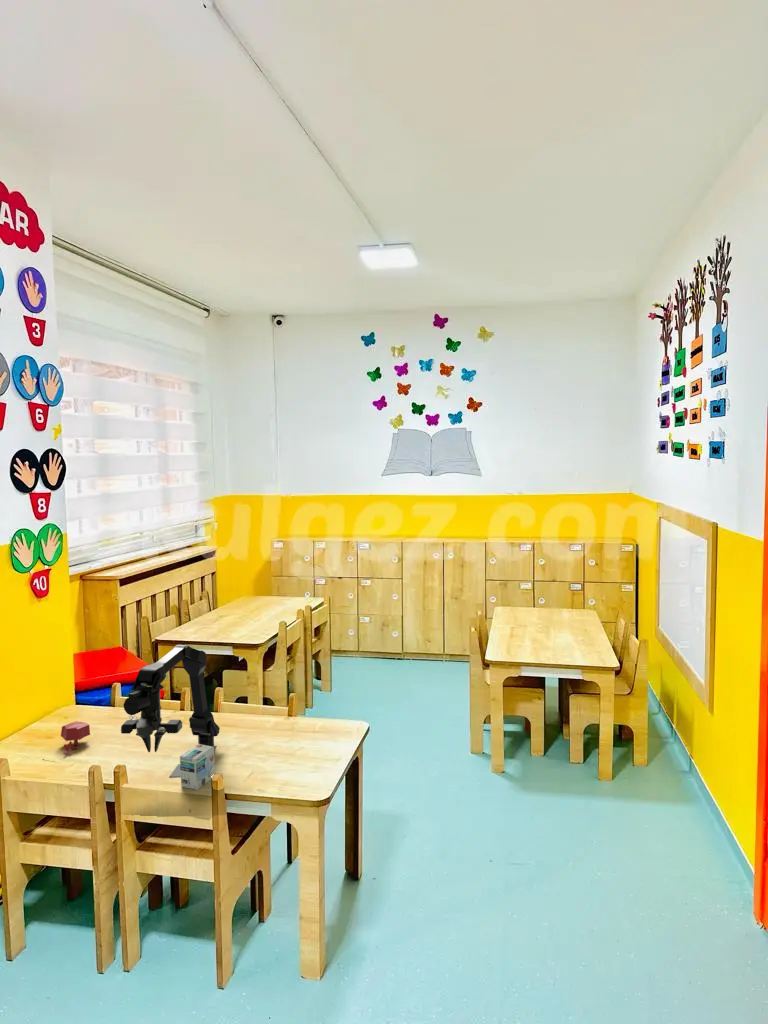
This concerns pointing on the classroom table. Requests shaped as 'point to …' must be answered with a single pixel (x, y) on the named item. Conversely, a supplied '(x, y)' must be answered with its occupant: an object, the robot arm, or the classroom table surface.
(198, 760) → the light bulb box
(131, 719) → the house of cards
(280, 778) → the classroom table surface
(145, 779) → the classroom table surface
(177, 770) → the slate mat
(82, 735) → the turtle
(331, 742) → the classroom table surface
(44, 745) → the classroom table surface
